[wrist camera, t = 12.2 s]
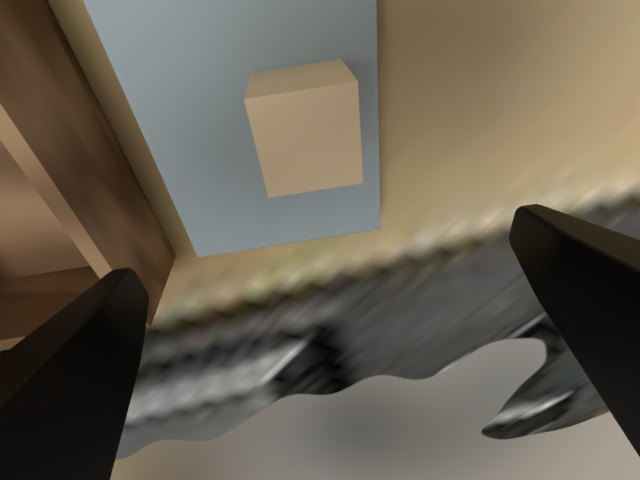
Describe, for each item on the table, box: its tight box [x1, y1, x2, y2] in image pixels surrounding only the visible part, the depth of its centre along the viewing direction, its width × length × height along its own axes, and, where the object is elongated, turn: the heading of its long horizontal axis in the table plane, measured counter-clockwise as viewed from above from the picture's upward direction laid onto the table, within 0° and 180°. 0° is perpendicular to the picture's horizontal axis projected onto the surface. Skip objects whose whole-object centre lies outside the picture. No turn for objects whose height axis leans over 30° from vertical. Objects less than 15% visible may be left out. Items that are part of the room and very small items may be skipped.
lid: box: [83, 0, 381, 258], centre depth 16 cm, size 15×11×6 cm
